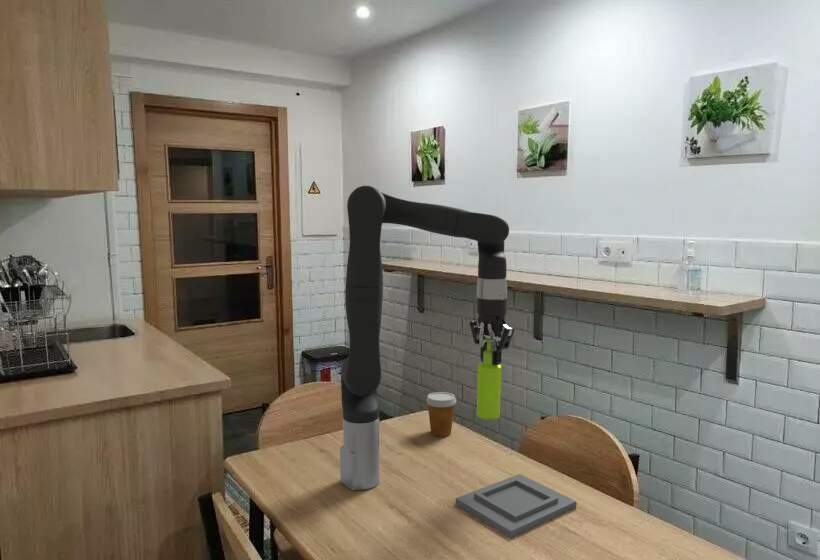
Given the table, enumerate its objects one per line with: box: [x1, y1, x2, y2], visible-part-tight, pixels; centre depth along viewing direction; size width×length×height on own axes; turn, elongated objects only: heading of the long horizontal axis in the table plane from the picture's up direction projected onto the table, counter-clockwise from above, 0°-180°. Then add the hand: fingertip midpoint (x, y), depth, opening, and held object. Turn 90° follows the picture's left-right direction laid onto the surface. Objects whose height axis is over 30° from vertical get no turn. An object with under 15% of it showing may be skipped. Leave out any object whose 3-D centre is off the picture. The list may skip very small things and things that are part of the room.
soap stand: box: [455, 473, 577, 538], centre depth 139 cm, size 22×18×2 cm
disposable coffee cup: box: [425, 391, 457, 438], centre depth 184 cm, size 10×10×12 cm
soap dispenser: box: [476, 338, 502, 420], centre depth 148 cm, size 6×7×20 cm
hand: (490, 363), depth 148 cm, fingers closed on soap dispenser, 3 cm apart
